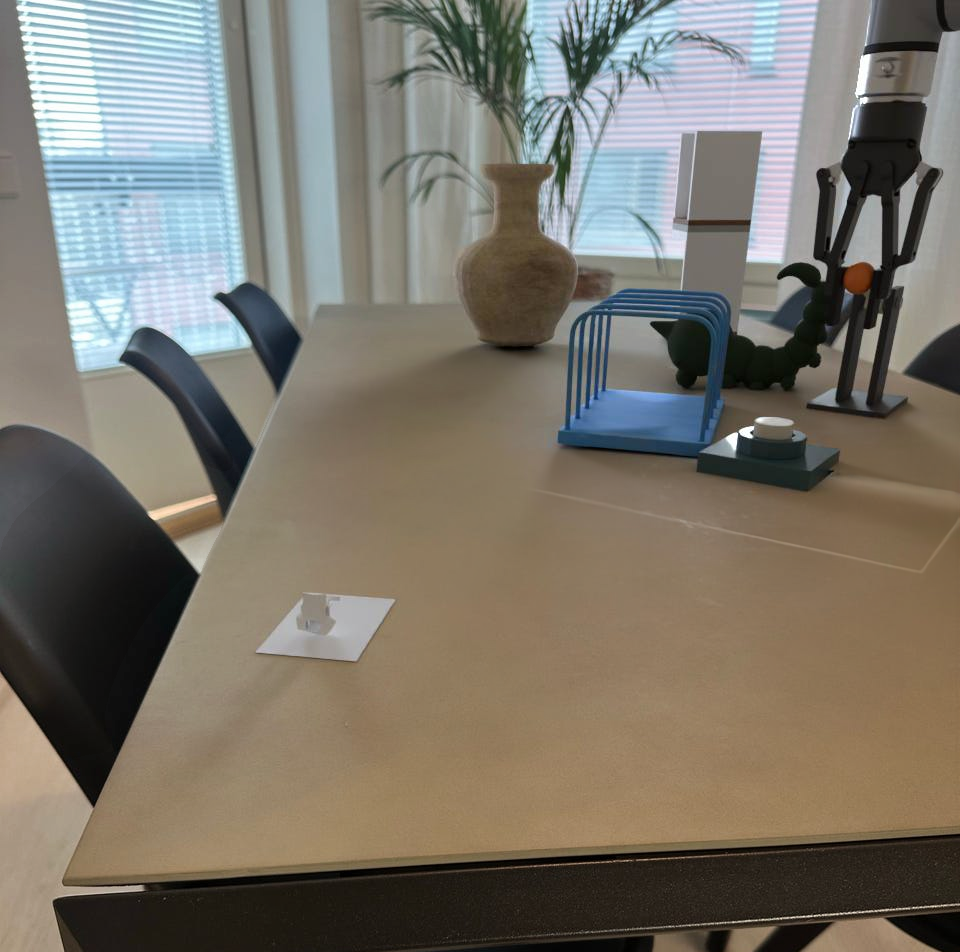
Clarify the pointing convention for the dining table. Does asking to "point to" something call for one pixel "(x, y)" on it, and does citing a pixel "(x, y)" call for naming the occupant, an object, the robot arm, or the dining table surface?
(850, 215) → the robot arm
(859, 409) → the orange ball swing frame
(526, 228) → the vase
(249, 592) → the dining table surface
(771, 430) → the white button cap
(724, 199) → the display case
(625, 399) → the file sorter
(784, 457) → the button base
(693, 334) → the toy figurine
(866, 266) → the switch lever
